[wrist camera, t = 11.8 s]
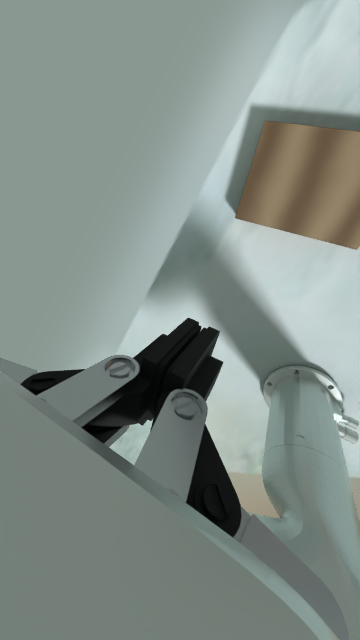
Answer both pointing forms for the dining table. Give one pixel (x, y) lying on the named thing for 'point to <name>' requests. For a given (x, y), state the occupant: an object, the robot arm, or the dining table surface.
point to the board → (305, 183)
